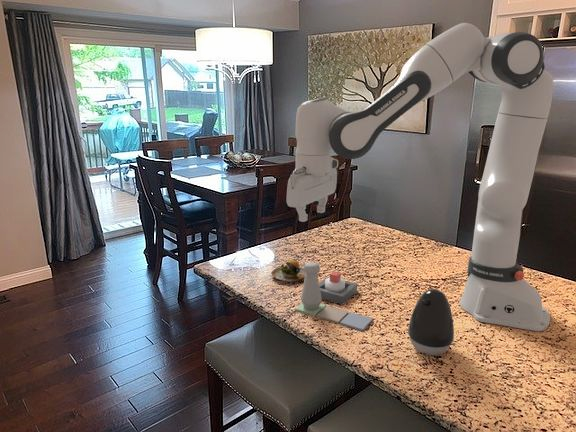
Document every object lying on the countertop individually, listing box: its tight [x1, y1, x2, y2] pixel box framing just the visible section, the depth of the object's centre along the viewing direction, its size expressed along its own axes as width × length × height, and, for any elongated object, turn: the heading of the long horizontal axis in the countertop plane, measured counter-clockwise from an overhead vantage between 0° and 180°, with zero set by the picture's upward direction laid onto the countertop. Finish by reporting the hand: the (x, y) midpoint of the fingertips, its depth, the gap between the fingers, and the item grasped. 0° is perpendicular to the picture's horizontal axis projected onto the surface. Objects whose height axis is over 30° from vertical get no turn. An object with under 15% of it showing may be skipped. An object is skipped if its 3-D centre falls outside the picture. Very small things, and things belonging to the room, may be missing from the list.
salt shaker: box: [300, 261, 323, 310], centre depth 120 cm, size 6×6×13 cm
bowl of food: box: [271, 255, 306, 285], centre depth 142 cm, size 12×12×8 cm
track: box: [294, 302, 374, 332], centre depth 118 cm, size 20×6×1 cm, turn 57°
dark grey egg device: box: [407, 288, 455, 356], centre depth 101 cm, size 10×10×15 cm
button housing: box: [319, 276, 358, 305], centre depth 131 cm, size 10×10×2 cm
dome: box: [324, 270, 346, 293], centre depth 130 cm, size 6×6×6 cm
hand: (312, 216), depth 115 cm, fingers open, 8 cm apart
